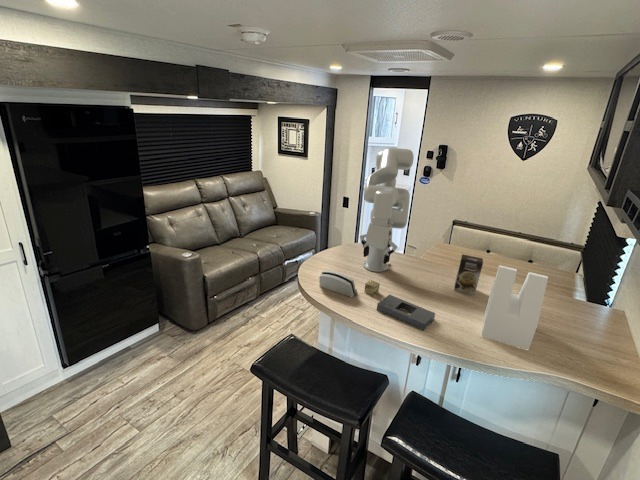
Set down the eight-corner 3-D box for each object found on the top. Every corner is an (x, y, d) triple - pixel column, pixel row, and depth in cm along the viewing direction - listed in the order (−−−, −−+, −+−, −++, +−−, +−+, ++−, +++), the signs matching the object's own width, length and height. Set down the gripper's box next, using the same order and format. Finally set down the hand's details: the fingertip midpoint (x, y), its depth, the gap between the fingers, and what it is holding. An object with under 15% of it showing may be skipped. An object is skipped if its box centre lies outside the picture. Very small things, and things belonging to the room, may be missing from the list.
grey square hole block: (388, 300, 149) (389, 294, 147) (433, 319, 137) (435, 313, 136) (376, 310, 141) (377, 303, 140) (423, 330, 130) (424, 324, 129)
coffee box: (453, 290, 161) (461, 258, 155) (454, 284, 166) (461, 253, 160) (474, 295, 158) (483, 263, 152) (474, 289, 163) (482, 257, 157)
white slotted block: (484, 312, 145) (500, 257, 136) (526, 324, 139) (545, 267, 130) (481, 336, 129) (498, 276, 120) (528, 351, 123) (550, 288, 114)
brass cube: (369, 288, 157) (370, 279, 156) (378, 292, 155) (379, 283, 153) (364, 292, 154) (365, 283, 152) (373, 296, 152) (374, 287, 150)
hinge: (357, 292, 153) (356, 276, 147) (353, 299, 150) (351, 283, 144) (324, 281, 161) (322, 265, 155) (319, 288, 158) (316, 272, 152)
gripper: (404, 224, 140) (398, 263, 146) (367, 214, 150) (363, 251, 156) (395, 228, 135) (389, 268, 141) (357, 217, 144) (353, 255, 151)
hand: (375, 259), depth 148 cm, fingers open, 9 cm apart
